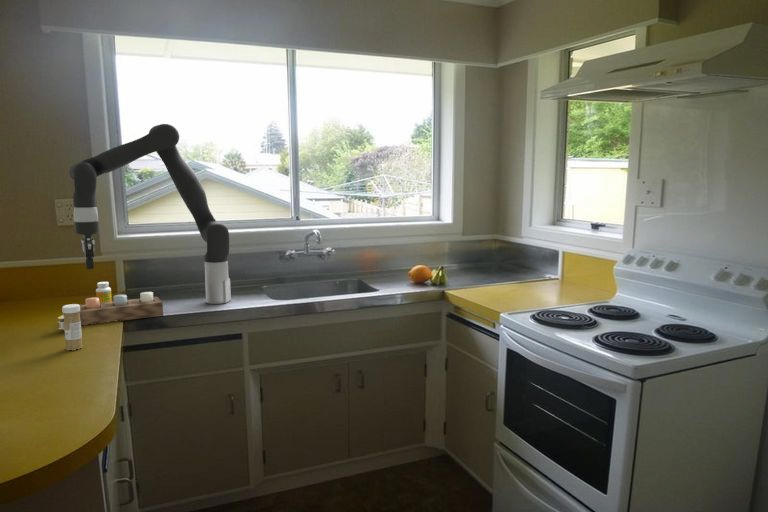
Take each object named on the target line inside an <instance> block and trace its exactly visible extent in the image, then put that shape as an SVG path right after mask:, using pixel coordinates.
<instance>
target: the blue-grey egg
mask: <svg viewBox="0 0 768 512" xmlns="http://www.w3.org/2000/svg"><path fill="white" fill-rule="evenodd" d="M112 297H113V301H114V306H119V305H127V300H128V296H127V294H116V295H113V296H112Z"/></svg>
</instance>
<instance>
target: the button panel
mask: <svg viewBox="0 0 768 512" xmlns="http://www.w3.org/2000/svg"><path fill="white" fill-rule="evenodd" d="M79 305H80V321H81V325H83V326H89V325H88V324H91V325H97V324H96V323H99V324H103V323H102V322H107V323H109V322H108V321H115V320H120V321H129V320H138V319H145V318H152V317H153V318H154V317H160V316H164V306H163V305H164V304H163V301H162V300H161V299H160V298H159V297H158V296H153V302H146V303H141V300H140V298H133V299H127V305H119V306H114V300H112V302H103V303H100V308H92V309H86V303H85V304H79ZM120 321H119V322H120ZM115 322H116V321H115Z"/></svg>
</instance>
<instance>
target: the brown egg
mask: <svg viewBox="0 0 768 512" xmlns="http://www.w3.org/2000/svg"><path fill="white" fill-rule="evenodd" d="M84 302H85V304H86V309H92V308H100V302H99V298H98V297H96V296H95V297H93V296H92V297H87V298H85V301H84Z"/></svg>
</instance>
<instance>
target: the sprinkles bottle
mask: <svg viewBox="0 0 768 512" xmlns="http://www.w3.org/2000/svg"><path fill="white" fill-rule="evenodd" d="M80 305H81V304H78V303H71V304H65V305H63V306H62V308H61V311H62V315H64V329H63V330H64V340H65V351H69V350H72V351H77V350H76V349H78V350H81V349H82V348H83V346H84V345H83V339H82V338H83V336H82V335H83V334H82V333H83V332H82V326H81V321H80ZM80 348H81V349H80Z"/></svg>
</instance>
